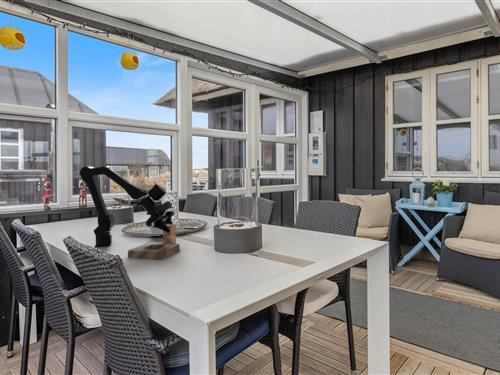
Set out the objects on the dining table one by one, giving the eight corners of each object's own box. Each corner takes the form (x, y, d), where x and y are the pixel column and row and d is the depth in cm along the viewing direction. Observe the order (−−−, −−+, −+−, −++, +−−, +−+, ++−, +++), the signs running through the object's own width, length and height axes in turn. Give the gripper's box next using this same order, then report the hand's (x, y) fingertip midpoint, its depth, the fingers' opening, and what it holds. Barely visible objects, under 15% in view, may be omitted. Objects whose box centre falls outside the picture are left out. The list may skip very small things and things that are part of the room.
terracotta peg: (163, 246, 164) (162, 225, 164) (167, 243, 169) (167, 223, 168) (171, 246, 163) (171, 225, 162) (176, 244, 168) (175, 224, 167)
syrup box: (156, 237, 185) (156, 210, 184) (150, 235, 189) (149, 209, 188) (165, 235, 190) (164, 209, 189) (158, 234, 193) (157, 208, 192)
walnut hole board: (128, 257, 146) (127, 250, 146) (148, 248, 161) (148, 241, 161) (161, 259, 142) (161, 252, 141) (179, 250, 157) (179, 243, 157)
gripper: (150, 198, 156) (172, 223, 154) (170, 194, 174) (191, 216, 172) (136, 214, 159) (157, 239, 157) (157, 209, 177) (177, 231, 175)
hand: (171, 230), depth 165 cm, fingers closed on terracotta peg, 5 cm apart
